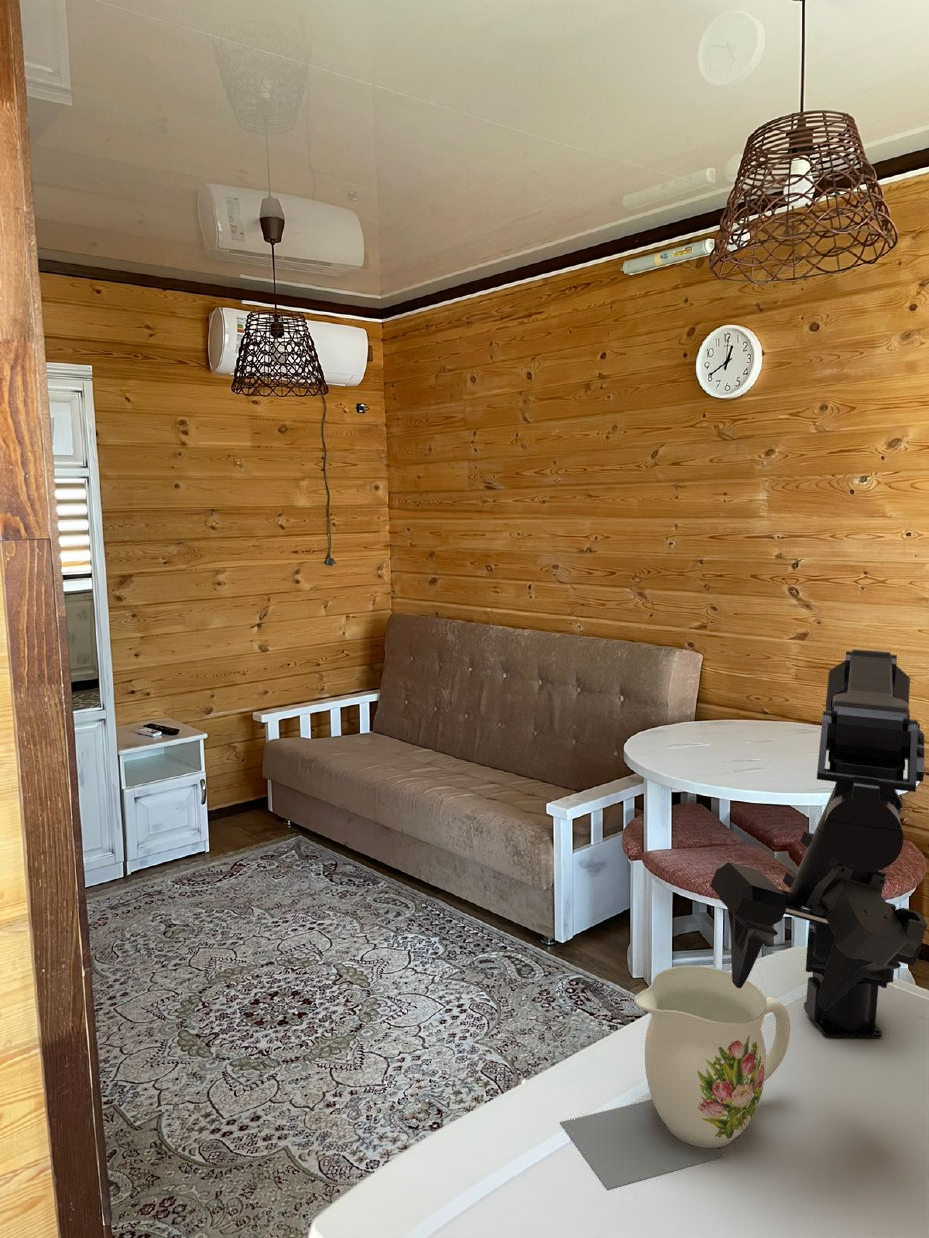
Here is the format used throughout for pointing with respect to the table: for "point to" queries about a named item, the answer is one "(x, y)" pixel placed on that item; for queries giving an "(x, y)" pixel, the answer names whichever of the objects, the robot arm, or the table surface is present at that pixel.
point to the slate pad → (632, 1145)
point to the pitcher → (708, 1051)
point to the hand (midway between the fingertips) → (779, 996)
